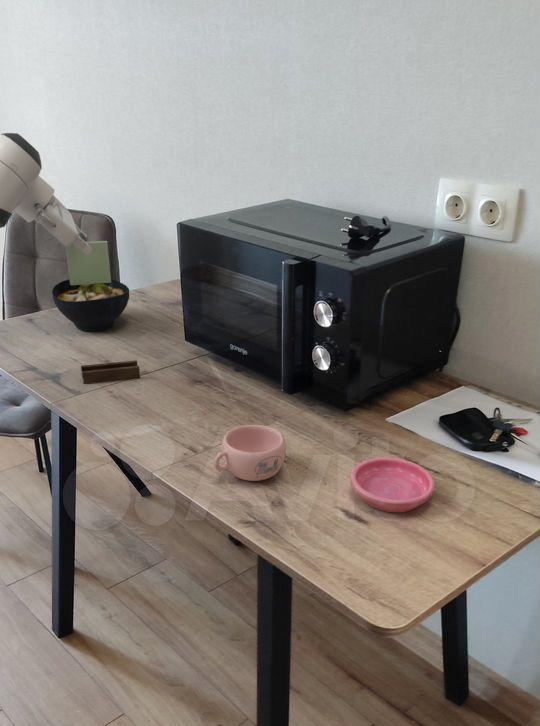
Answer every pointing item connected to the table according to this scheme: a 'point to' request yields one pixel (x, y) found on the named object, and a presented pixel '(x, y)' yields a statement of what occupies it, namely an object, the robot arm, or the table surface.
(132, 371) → the rack
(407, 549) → the table surface
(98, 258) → the green square tile
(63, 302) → the bowl
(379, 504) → the saucer
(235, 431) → the mug
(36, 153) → the robot arm
